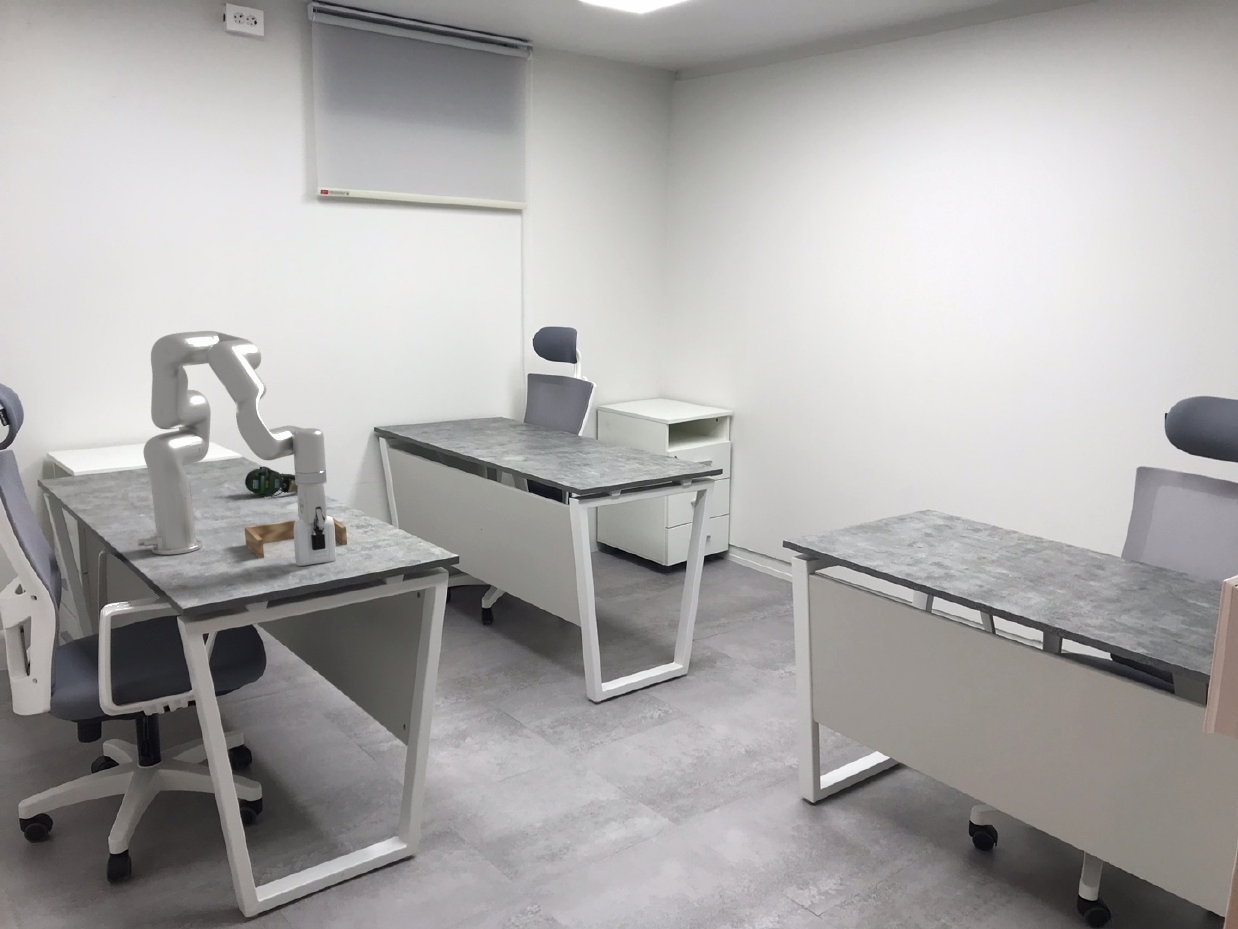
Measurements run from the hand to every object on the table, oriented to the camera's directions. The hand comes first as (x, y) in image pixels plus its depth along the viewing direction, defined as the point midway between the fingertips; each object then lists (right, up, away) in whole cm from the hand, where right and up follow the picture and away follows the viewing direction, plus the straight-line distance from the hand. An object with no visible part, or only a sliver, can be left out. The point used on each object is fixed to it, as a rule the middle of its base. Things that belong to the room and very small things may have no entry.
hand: (315, 546), depth 246 cm
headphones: (-38, +11, +79) cm, 88 cm away
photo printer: (0, -5, +1) cm, 5 cm away
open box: (-11, -1, +17) cm, 20 cm away
